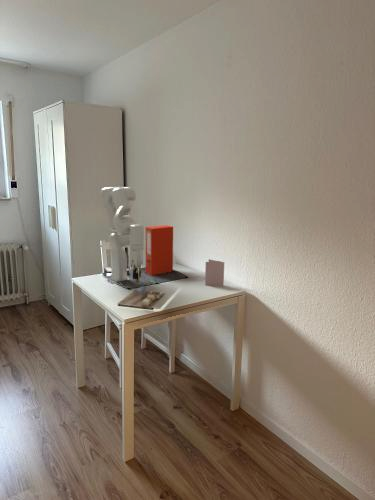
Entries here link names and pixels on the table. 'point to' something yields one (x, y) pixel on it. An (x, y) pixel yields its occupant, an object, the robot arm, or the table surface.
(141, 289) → the bracket
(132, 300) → the base plate
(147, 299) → the link
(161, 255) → the file binder
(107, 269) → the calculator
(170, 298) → the table surface
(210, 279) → the greeting card
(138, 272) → the pin
